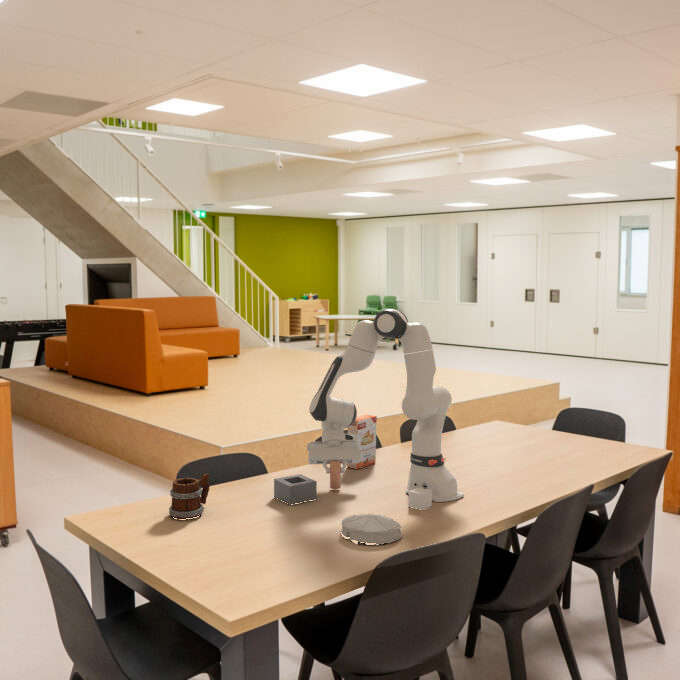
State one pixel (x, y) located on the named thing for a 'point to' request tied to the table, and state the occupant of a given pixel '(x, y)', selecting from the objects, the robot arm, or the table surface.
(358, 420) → the cracker box
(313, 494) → the socket box
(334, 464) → the peg
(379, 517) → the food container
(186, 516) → the mug
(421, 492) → the white cube
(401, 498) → the table surface
